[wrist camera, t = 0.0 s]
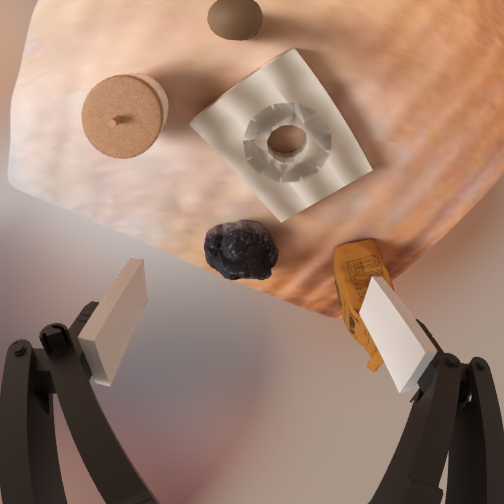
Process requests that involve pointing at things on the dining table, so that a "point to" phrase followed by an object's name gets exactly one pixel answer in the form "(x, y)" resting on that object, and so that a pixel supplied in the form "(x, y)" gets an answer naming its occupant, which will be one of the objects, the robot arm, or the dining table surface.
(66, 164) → the dining table surface
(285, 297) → the dining table surface
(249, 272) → the crystal cluster
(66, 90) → the dining table surface
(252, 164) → the board
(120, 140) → the lidded jar
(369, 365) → the coffee package
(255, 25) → the peg
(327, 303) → the dining table surface
